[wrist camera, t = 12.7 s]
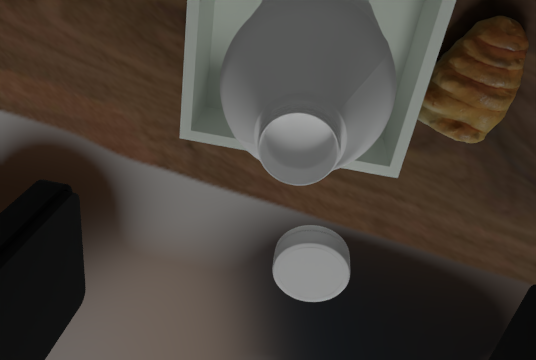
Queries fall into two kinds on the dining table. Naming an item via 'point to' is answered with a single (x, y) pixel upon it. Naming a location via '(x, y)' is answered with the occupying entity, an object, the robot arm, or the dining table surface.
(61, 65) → the dining table surface
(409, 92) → the bin
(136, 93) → the dining table surface
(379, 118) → the water bottle
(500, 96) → the pastry
